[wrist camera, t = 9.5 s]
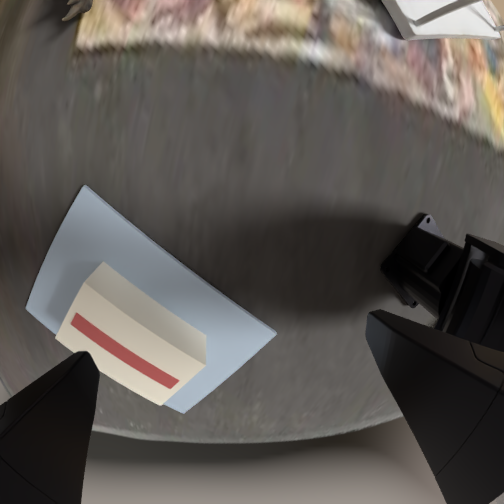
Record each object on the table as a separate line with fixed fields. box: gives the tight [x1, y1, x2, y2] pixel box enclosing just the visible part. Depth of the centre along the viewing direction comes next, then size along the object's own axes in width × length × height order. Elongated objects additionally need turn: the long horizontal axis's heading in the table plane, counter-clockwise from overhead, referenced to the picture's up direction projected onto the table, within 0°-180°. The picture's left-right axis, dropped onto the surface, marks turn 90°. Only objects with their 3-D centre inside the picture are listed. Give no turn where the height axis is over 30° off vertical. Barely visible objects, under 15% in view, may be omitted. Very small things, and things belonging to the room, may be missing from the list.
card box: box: [55, 261, 206, 406], centre depth 18 cm, size 6×10×4 cm, turn 48°
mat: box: [26, 185, 277, 414], centre depth 20 cm, size 18×13×1 cm
